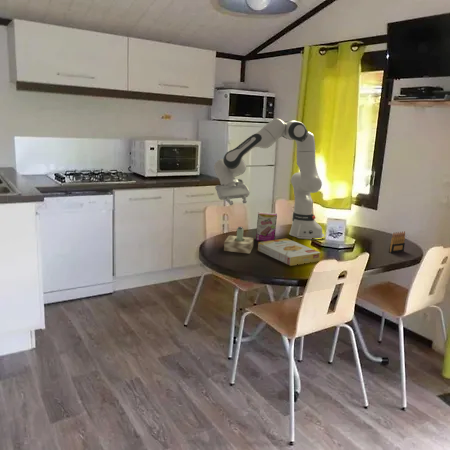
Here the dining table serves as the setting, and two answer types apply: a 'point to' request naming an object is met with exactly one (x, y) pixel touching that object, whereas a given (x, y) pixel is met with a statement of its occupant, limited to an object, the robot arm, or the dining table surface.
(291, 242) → the cereal box
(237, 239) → the bottle
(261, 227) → the candy bar box
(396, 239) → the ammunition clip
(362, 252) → the dining table surface
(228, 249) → the block with square hole
